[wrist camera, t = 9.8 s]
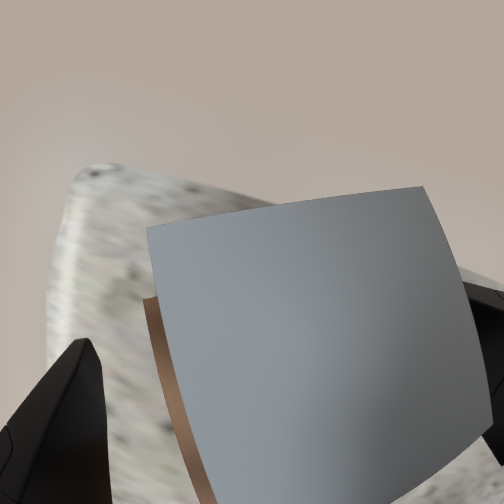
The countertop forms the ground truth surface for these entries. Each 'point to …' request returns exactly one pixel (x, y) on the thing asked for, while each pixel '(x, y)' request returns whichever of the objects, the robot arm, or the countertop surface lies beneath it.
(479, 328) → the robot arm
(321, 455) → the slate finger
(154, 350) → the walnut rail
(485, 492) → the countertop surface
